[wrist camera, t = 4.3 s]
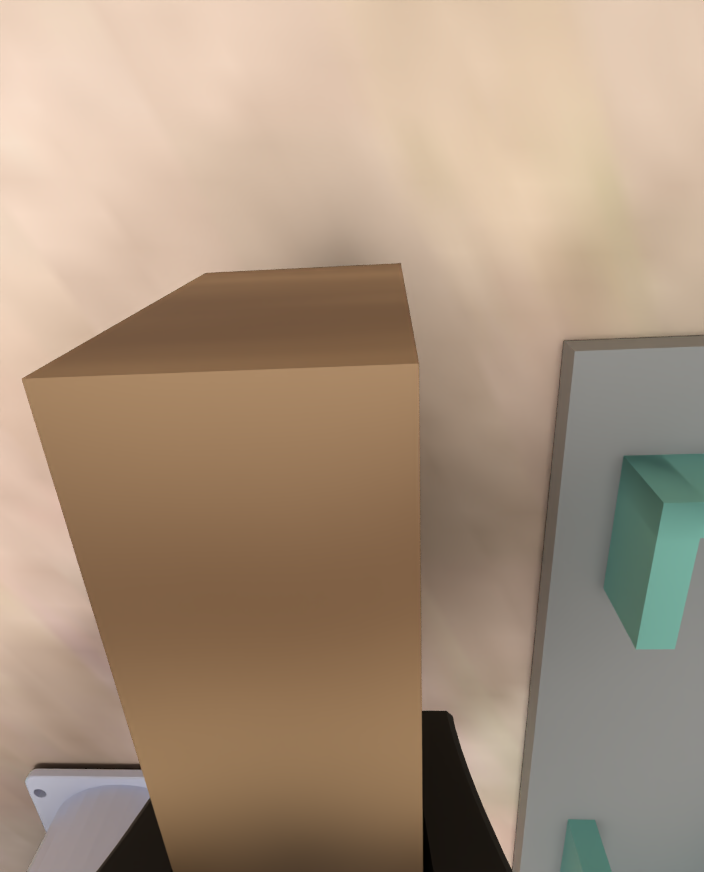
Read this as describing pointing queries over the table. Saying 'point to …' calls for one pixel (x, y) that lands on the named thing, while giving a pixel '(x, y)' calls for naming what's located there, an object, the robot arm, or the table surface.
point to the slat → (256, 559)
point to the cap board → (620, 618)
